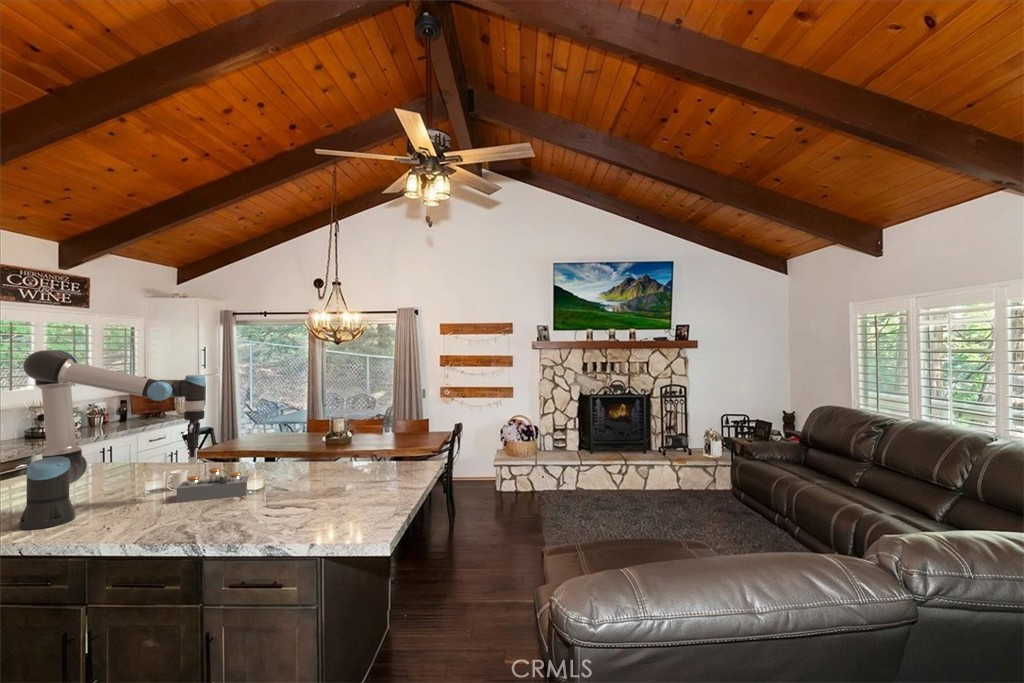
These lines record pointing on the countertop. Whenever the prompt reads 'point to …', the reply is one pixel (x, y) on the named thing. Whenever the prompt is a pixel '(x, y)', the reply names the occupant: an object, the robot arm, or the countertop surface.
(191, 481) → the knob near
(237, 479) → the knob far
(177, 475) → the cup
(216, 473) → the knob mid
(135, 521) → the countertop surface
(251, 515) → the countertop surface
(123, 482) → the countertop surface
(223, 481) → the dial
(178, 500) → the panel
